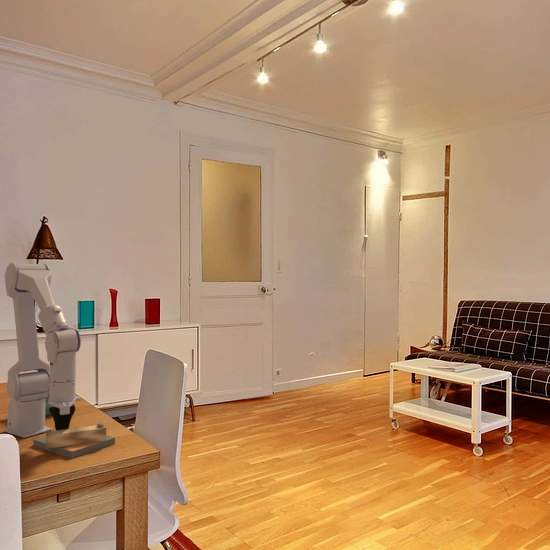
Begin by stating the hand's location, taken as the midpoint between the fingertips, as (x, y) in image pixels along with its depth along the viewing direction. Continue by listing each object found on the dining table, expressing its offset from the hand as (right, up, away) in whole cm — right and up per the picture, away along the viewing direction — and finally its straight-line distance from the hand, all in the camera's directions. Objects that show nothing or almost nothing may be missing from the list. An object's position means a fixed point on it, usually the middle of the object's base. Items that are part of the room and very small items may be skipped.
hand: (62, 437), depth 120 cm
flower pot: (-17, -3, +29) cm, 34 cm away
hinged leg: (+4, -1, -1) cm, 4 cm away
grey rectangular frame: (+2, -3, +3) cm, 4 cm away
